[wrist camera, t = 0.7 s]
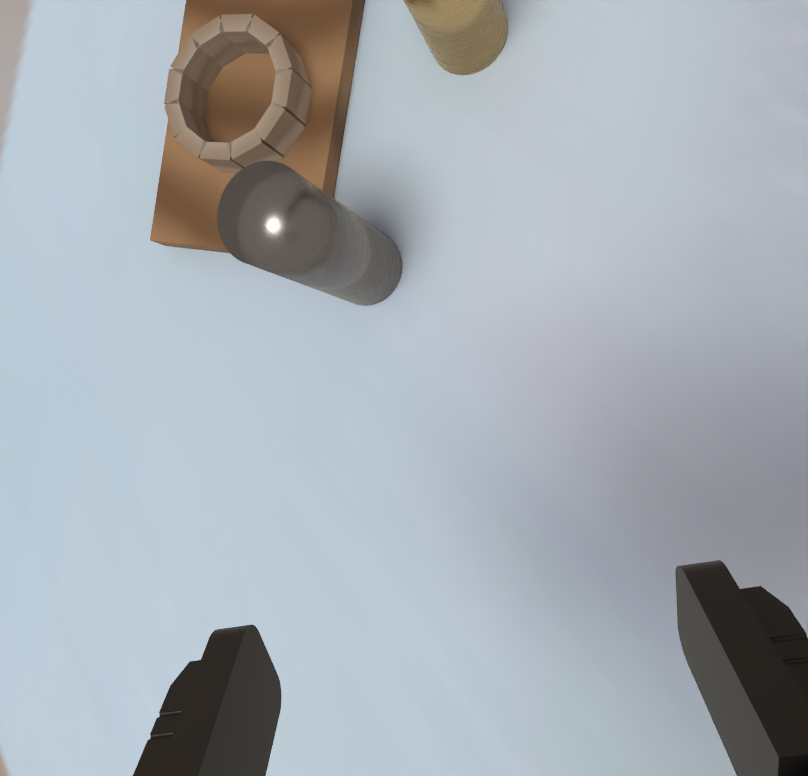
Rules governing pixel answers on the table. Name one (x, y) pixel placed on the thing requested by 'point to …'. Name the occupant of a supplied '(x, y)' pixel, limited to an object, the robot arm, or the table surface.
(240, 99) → the socket board
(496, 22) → the brass peg
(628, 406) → the table surface
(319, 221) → the steel peg
